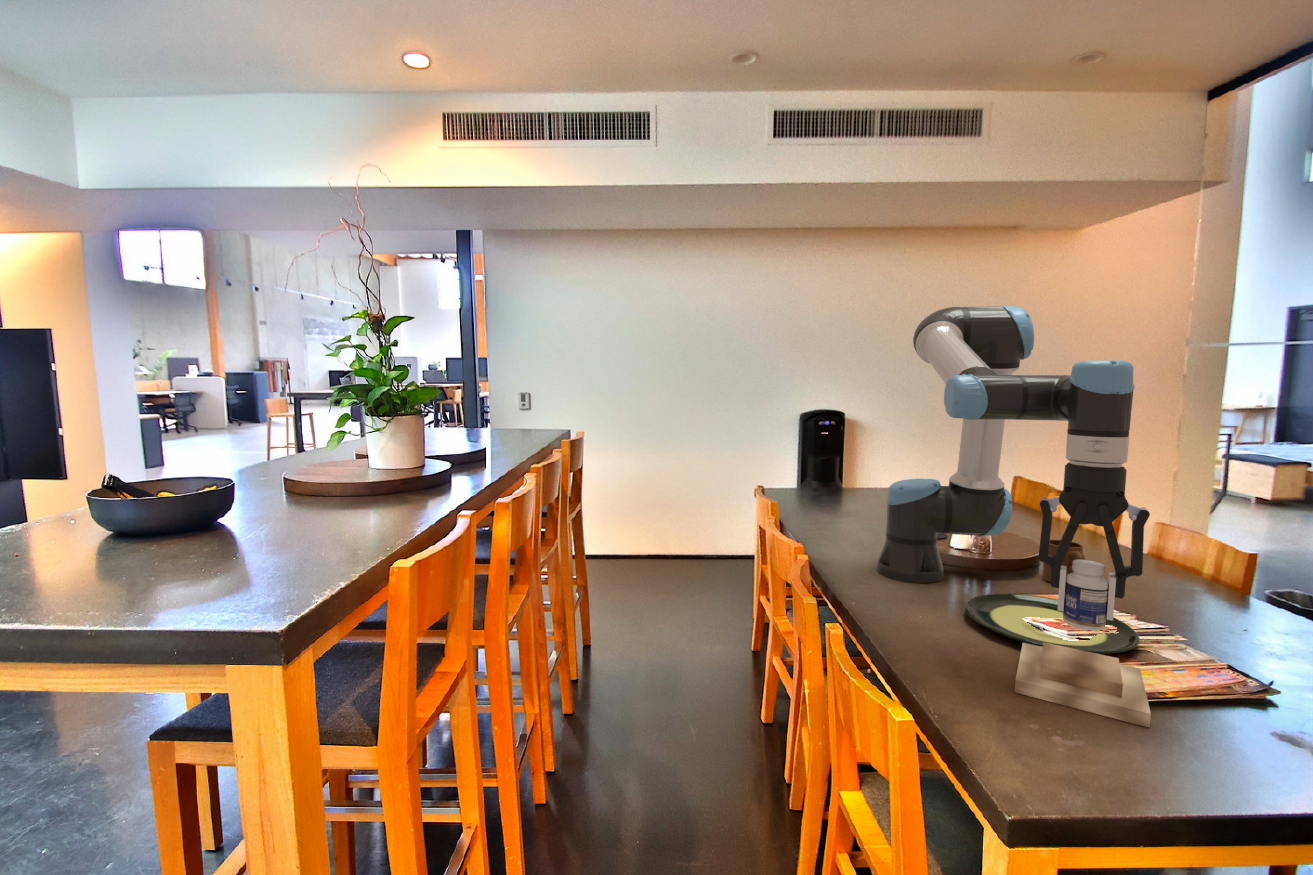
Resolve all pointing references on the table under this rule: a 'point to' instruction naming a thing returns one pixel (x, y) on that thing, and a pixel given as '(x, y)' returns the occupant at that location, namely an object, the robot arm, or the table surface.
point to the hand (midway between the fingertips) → (1084, 612)
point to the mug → (1072, 554)
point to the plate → (1010, 609)
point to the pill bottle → (1086, 596)
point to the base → (1083, 696)
